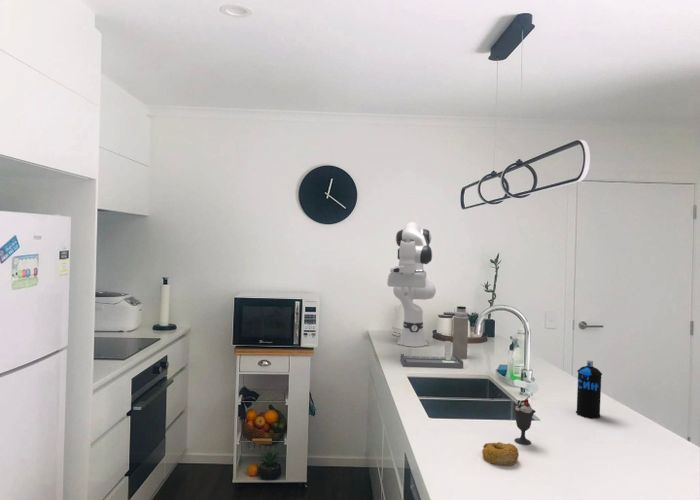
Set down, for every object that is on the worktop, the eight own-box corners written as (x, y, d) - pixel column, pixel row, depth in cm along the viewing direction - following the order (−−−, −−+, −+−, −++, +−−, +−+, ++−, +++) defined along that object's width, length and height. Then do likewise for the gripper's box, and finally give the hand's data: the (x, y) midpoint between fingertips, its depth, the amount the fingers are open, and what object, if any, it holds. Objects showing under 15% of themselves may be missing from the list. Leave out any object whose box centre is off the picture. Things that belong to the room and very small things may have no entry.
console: (400, 360, 253) (400, 353, 253) (457, 362, 253) (457, 355, 253) (403, 366, 240) (403, 359, 240) (463, 368, 240) (463, 361, 240)
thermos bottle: (451, 355, 270) (453, 305, 269) (465, 356, 269) (467, 306, 269) (453, 358, 262) (454, 307, 261) (468, 359, 261) (469, 307, 261)
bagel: (508, 450, 143) (509, 435, 143) (524, 468, 132) (525, 451, 132) (476, 451, 142) (476, 435, 142) (489, 469, 131) (490, 451, 131)
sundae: (532, 448, 146) (533, 398, 145) (509, 442, 149) (511, 394, 149) (536, 440, 151) (538, 393, 151) (514, 435, 155) (516, 389, 155)
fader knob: (444, 358, 248) (445, 340, 248) (449, 358, 248) (449, 340, 248) (445, 359, 245) (446, 341, 245) (450, 360, 245) (451, 342, 245)
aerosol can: (580, 409, 183) (582, 357, 183) (603, 415, 177) (605, 361, 177) (572, 414, 177) (574, 360, 177) (596, 420, 172) (598, 364, 171)
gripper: (425, 269, 258) (424, 295, 258) (387, 268, 258) (386, 294, 258) (427, 270, 252) (426, 296, 252) (388, 269, 251) (387, 295, 252)
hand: (406, 295), depth 255 cm, fingers closed
